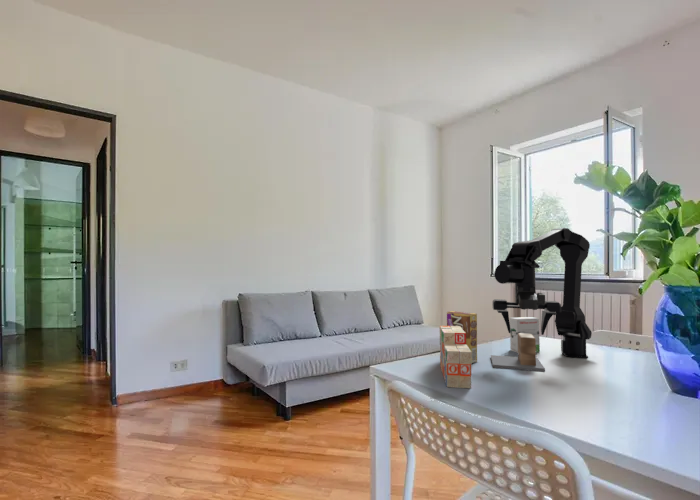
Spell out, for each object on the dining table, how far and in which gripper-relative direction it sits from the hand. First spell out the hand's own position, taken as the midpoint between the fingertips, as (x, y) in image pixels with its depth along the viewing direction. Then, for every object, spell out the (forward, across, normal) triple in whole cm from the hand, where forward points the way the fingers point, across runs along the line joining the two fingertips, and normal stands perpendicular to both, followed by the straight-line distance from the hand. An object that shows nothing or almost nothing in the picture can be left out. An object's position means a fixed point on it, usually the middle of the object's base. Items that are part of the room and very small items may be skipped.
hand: (525, 333), depth 117 cm
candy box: (+10, -19, 0) cm, 21 cm away
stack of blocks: (+10, -21, -17) cm, 29 cm away
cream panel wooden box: (+9, 0, 0) cm, 9 cm away
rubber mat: (+9, -3, 0) cm, 10 cm away
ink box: (+10, +2, +19) cm, 22 cm away
